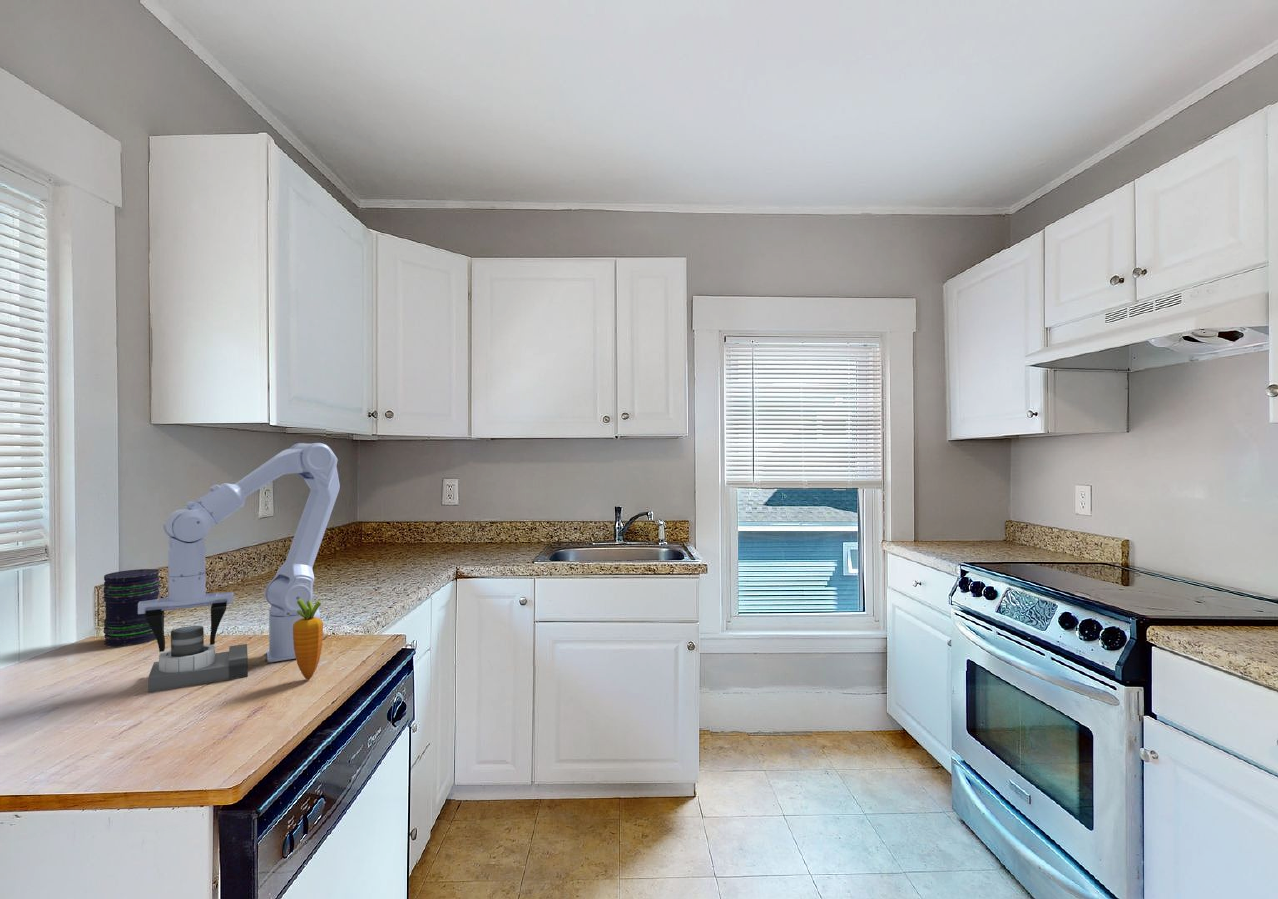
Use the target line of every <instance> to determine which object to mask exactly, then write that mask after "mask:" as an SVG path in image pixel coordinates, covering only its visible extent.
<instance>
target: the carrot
mask: <svg viewBox="0 0 1278 899" xmlns="http://www.w3.org/2000/svg"><path fill="white" fill-rule="evenodd" d="M297 603H298V605H299V606H300V608H301V609H302V611H303V612H302V611H297V613H298V614H300V615H301V616H302V617H304V618H301V619H299V620H298V621H296V622H295V623H294V625H293V642H294V651H295V656H296V658H295V659H296V663H297V666H298V669H299V671H300V672H301V674H302V675H303V677H304V679H306V680H307V681H309V680H311V679H312V677H313V676H314V674H315V672H316V670H317V667H318V665H319V662H320V659H321V653H322V648H323V637H324V634H323V633H324V622H323V620H322V619H321V618H320V619H319V618H317V617H313V616H314V615H315V613H316V611H317V609H319V607H320V606H321V604H322V602H321V601H319V600H317V602H316V603H315V604H314V606H313V602H312V603H311V601H307V602H306V603H307V606H308V607H306V605H305V603H304V601H303V600H302V599H299V600H298V601H297Z"/></svg>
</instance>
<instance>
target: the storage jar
mask: <svg viewBox="0 0 1278 899" xmlns="http://www.w3.org/2000/svg"><path fill="white" fill-rule="evenodd" d="M159 574H160V571H159V570H158V569H154V568H143V569H141V568H140V569H129V570H121V571H116V572H111V573H106V574H104V576H103V580H104V581H103V588H102V589H103V590H102V591H103V602H104V603H105V618H104V620H103V625H104V627H103V634H104V635H103V636H104V639H105V640H104V646H105V645H106V647H108V646H110V648H123V647H124V646H125V647H133V646H138V645H143V644H147V643H150V642H153V641H156V640H155V639H156V637H155V635H154V633H153V631H152V629H151V627H150V626H149V624H148V623H147V621H146V619H145V616H146V613H145V614H138V603H139V602H140V601H148V600H155V599H159V597H158V596H159V595H160V577H159Z"/></svg>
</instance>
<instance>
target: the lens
mask: <svg viewBox="0 0 1278 899" xmlns="http://www.w3.org/2000/svg"><path fill="white" fill-rule="evenodd" d="M204 628H205V627H204V626H201V625H189V626H182V627H179V628H174V629H172V630H171V631H170V649H171V657H183V656H190V655H195V654H199V653H202V652H204V644H205V642H204V641H205V640H204V639H205V634H204V633H205V632H204V631H205V630H204Z"/></svg>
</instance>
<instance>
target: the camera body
mask: <svg viewBox="0 0 1278 899" xmlns="http://www.w3.org/2000/svg"><path fill="white" fill-rule="evenodd" d="M228 647H229V648H228V649H229V650H228V651H223V652H216V645H215V644H214V645H210V643H204V652H202V653H199V654H195V655H190V656H183V657H171V648H169V649H166V650H164V651H163V652H159V655H158V661H154V662H153V664H152V667H151V669H150V672H149V675H148V677H147V693H153V692H160V691H165V690H173V689H179V688H184V687H191V686H196V685H202V684H210V683H215V682H221V681H227V680H235V679H241V678H245V677H246V678H247V677H248V676H249V674H248V672H249V668H248V667H249V662H248V660H249V658H248V643H244V644H237V645H230V646H228Z"/></svg>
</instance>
